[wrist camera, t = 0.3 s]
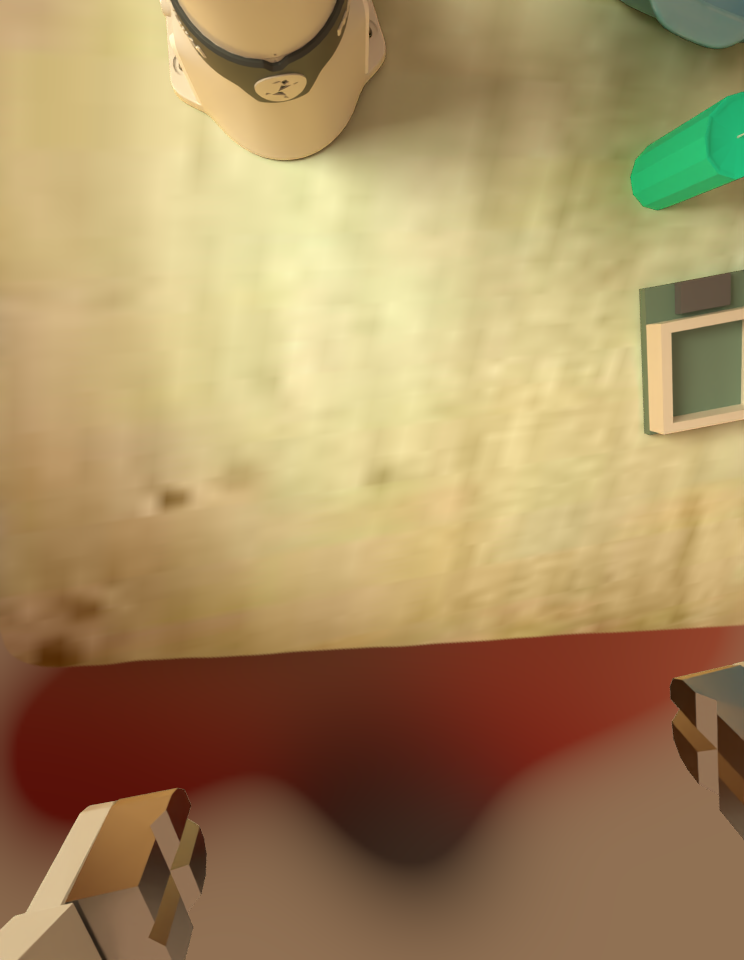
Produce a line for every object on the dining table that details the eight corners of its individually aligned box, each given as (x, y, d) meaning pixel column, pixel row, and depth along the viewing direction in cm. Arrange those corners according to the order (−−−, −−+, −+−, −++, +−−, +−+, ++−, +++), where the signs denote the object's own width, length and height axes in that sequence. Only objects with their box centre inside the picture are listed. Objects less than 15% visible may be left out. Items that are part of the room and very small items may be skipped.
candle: (703, 161, 50) (813, 107, 38) (667, 222, 51) (764, 187, 39) (653, 127, 49) (751, 61, 37) (618, 190, 50) (702, 145, 38)
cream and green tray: (639, 289, 52) (660, 286, 49) (745, 269, 53) (773, 264, 49) (644, 433, 56) (663, 439, 53) (742, 414, 57) (768, 419, 53)
